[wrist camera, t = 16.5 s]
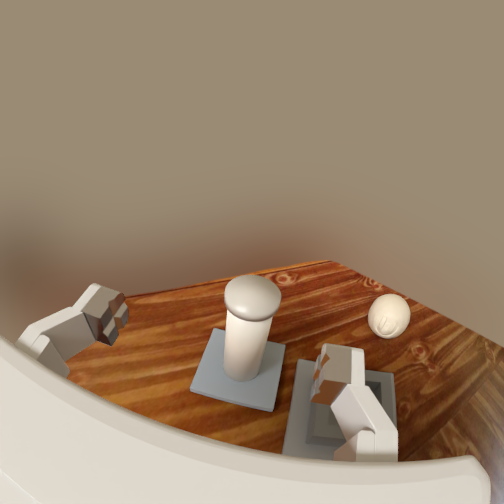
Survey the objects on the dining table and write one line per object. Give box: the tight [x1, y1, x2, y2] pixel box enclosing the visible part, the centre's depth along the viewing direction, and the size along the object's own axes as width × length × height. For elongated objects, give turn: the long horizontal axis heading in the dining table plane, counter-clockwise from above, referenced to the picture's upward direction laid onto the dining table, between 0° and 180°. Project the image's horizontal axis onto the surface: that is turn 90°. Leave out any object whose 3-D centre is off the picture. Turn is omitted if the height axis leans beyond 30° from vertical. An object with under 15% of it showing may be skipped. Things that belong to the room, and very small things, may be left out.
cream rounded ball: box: [368, 294, 410, 339], centre depth 41 cm, size 7×7×7 cm
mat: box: [190, 328, 286, 412], centre depth 35 cm, size 10×10×1 cm
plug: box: [223, 275, 281, 382], centre depth 31 cm, size 5×5×13 cm
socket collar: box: [282, 359, 397, 460], centre depth 29 cm, size 14×14×4 cm
